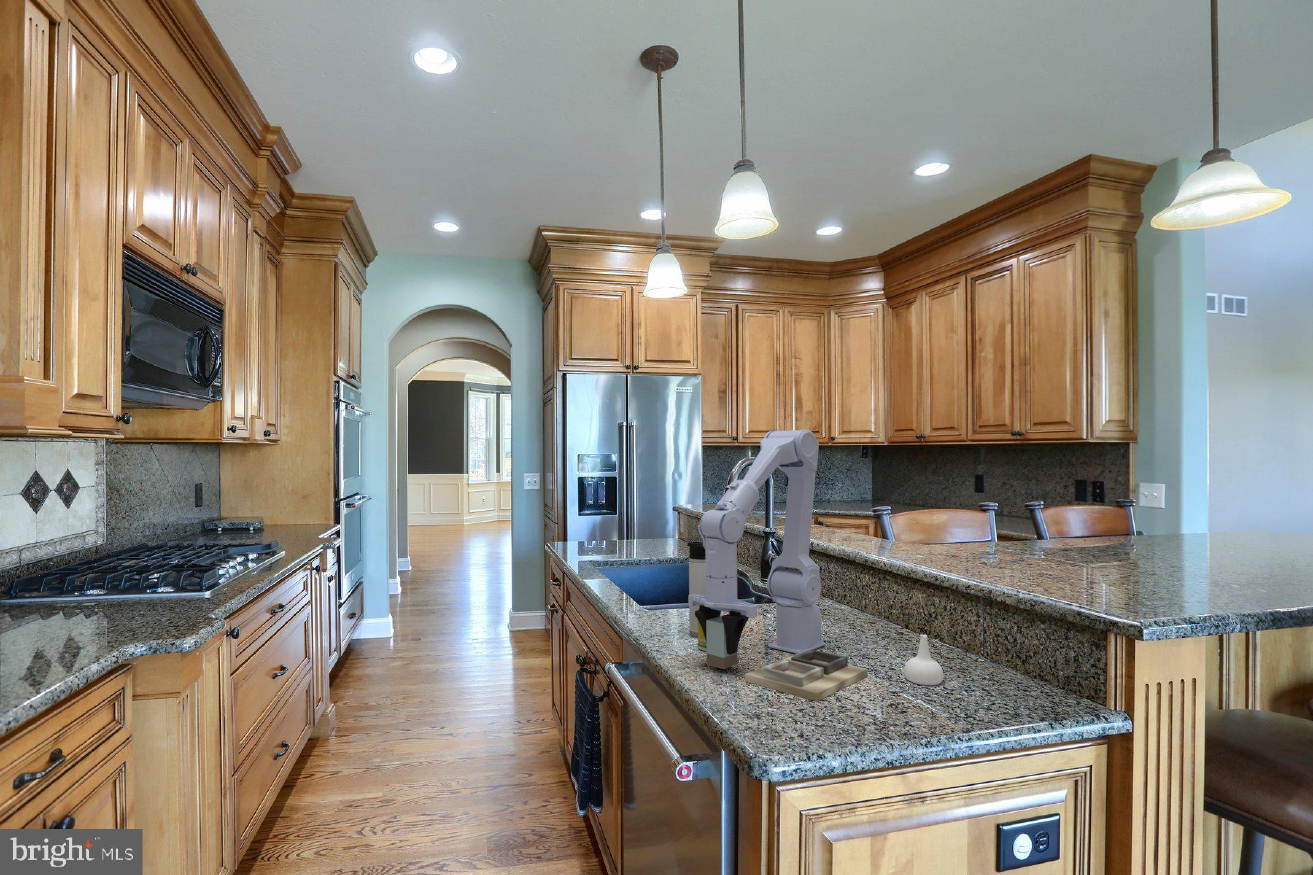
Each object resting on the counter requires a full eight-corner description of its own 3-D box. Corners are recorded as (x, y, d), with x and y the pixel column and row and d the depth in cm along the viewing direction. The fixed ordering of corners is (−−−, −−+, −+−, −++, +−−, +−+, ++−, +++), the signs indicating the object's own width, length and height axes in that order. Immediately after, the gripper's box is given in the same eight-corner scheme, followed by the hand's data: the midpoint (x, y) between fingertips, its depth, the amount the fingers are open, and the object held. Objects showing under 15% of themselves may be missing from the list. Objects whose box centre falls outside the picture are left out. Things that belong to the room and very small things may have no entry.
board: (798, 659, 126) (798, 645, 126) (867, 675, 117) (867, 660, 117) (745, 681, 114) (744, 665, 114) (817, 701, 104) (817, 683, 104)
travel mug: (686, 631, 148) (685, 541, 148) (715, 630, 148) (714, 540, 149) (689, 638, 141) (689, 544, 142) (720, 637, 142) (719, 544, 143)
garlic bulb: (904, 687, 112) (903, 640, 112) (903, 672, 118) (903, 628, 118) (944, 691, 110) (944, 644, 110) (942, 676, 116) (941, 631, 116)
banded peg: (720, 659, 124) (720, 616, 124) (737, 664, 121) (737, 619, 121) (706, 664, 121) (706, 620, 121) (724, 669, 118) (723, 623, 118)
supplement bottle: (713, 643, 138) (712, 596, 138) (729, 649, 133) (729, 601, 134) (692, 647, 135) (692, 599, 135) (708, 653, 130) (708, 604, 131)
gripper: (677, 573, 123) (677, 647, 123) (740, 583, 113) (740, 663, 113) (701, 569, 129) (702, 639, 128) (763, 578, 118) (764, 654, 118)
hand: (722, 650), depth 121 cm, fingers closed on banded peg, 4 cm apart
